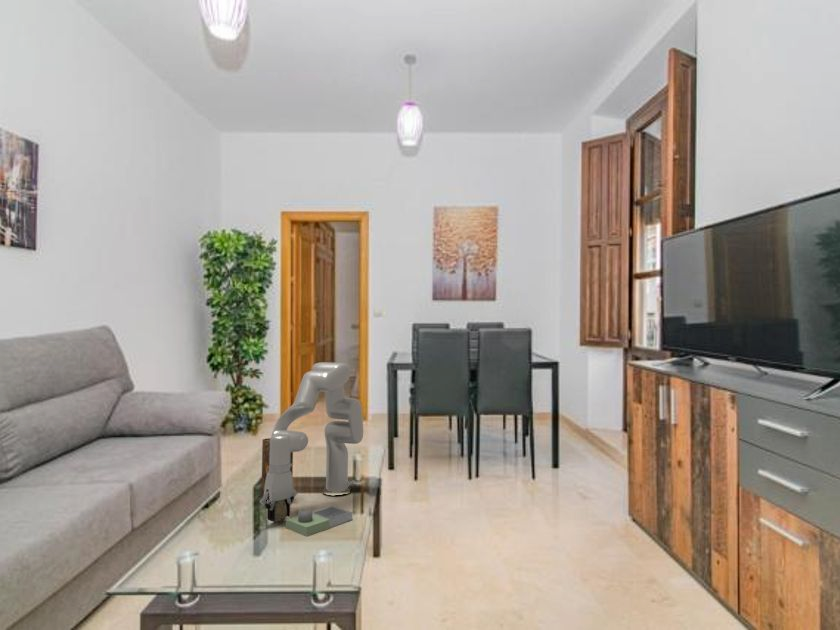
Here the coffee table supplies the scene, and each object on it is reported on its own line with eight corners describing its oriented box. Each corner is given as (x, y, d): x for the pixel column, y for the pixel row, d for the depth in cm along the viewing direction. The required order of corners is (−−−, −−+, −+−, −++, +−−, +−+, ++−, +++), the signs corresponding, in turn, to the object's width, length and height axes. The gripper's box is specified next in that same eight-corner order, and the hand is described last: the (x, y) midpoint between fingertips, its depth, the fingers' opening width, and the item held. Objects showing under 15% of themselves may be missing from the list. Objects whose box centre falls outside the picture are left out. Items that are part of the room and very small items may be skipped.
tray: (332, 513, 201) (332, 505, 201) (352, 520, 193) (352, 511, 193) (308, 521, 192) (308, 512, 192) (328, 528, 185) (328, 519, 185)
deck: (308, 520, 192) (308, 504, 192) (329, 528, 184) (329, 511, 185) (285, 528, 184) (285, 511, 185) (306, 536, 177) (306, 518, 177)
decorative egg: (271, 527, 185) (272, 499, 186) (269, 522, 191) (269, 494, 191) (288, 524, 188) (288, 497, 188) (285, 519, 193) (285, 492, 194)
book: (259, 498, 220) (260, 439, 221) (271, 495, 224) (272, 437, 225) (280, 506, 208) (281, 444, 210) (292, 503, 212) (293, 442, 214)
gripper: (293, 462, 199) (292, 510, 198) (253, 471, 186) (252, 521, 185) (305, 465, 195) (304, 514, 193) (265, 474, 181) (264, 526, 180)
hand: (278, 517), depth 189 cm, fingers closed on decorative egg, 6 cm apart
